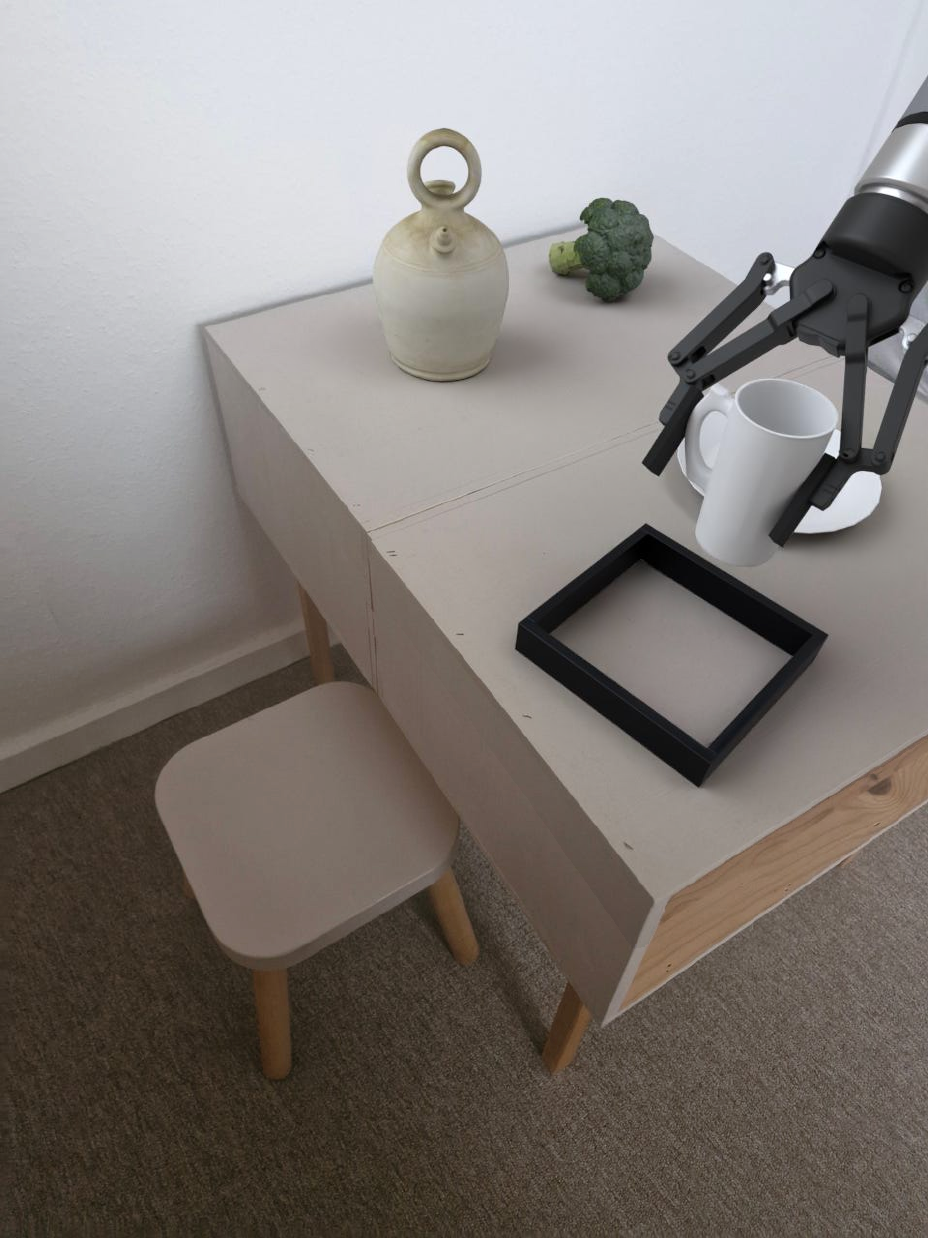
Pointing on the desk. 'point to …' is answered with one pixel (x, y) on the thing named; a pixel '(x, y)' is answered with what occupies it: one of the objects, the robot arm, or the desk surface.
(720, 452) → the mug
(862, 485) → the plate
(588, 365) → the desk surface
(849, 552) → the desk surface
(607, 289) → the vegetable
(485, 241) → the jug
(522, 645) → the black square frame
